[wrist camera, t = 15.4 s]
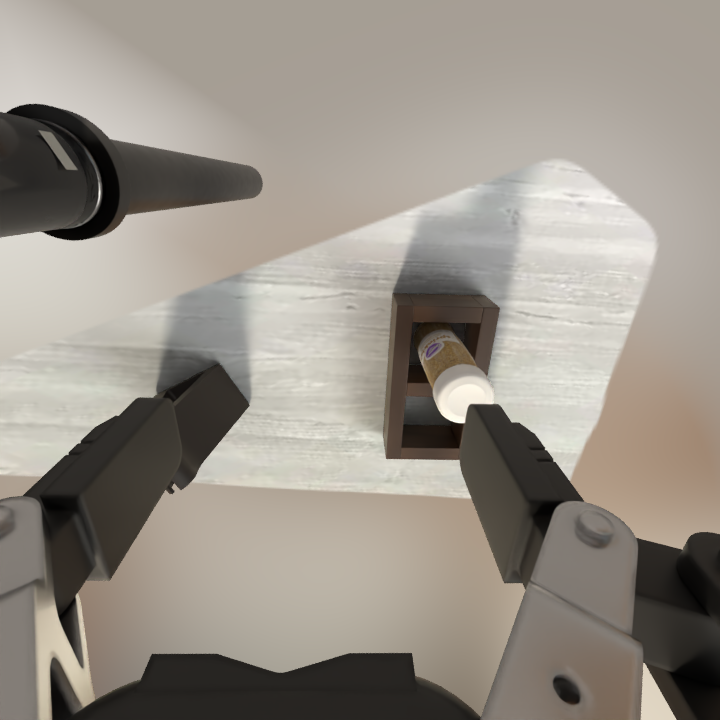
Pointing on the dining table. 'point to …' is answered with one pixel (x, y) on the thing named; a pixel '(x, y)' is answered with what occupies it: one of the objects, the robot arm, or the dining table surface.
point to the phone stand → (202, 417)
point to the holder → (413, 379)
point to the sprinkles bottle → (451, 371)
